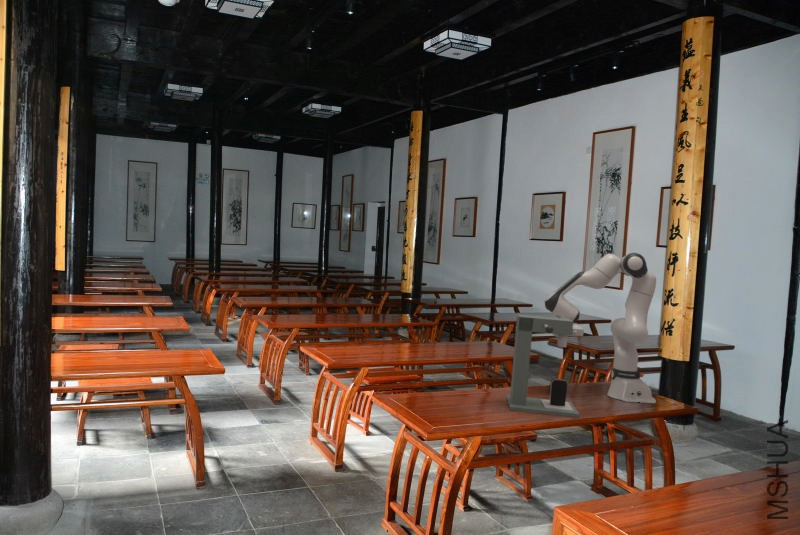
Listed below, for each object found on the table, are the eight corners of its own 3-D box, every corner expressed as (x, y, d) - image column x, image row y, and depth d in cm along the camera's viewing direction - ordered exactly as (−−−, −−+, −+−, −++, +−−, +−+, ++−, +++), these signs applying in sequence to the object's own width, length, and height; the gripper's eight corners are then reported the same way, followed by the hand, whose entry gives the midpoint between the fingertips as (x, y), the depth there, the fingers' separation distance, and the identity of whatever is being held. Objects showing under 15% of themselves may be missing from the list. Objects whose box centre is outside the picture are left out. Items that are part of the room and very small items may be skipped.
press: (570, 404, 270) (578, 318, 268) (582, 422, 242) (591, 326, 241) (506, 398, 273) (514, 312, 271) (511, 415, 245) (519, 320, 243)
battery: (563, 404, 262) (565, 378, 262) (565, 406, 259) (568, 380, 258) (547, 402, 262) (550, 377, 262) (549, 405, 259) (552, 379, 258)
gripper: (538, 320, 292) (542, 323, 279) (580, 323, 290) (586, 327, 277) (537, 332, 293) (541, 336, 279) (579, 336, 291) (585, 340, 277)
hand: (564, 332), depth 278 cm, fingers open, 8 cm apart
